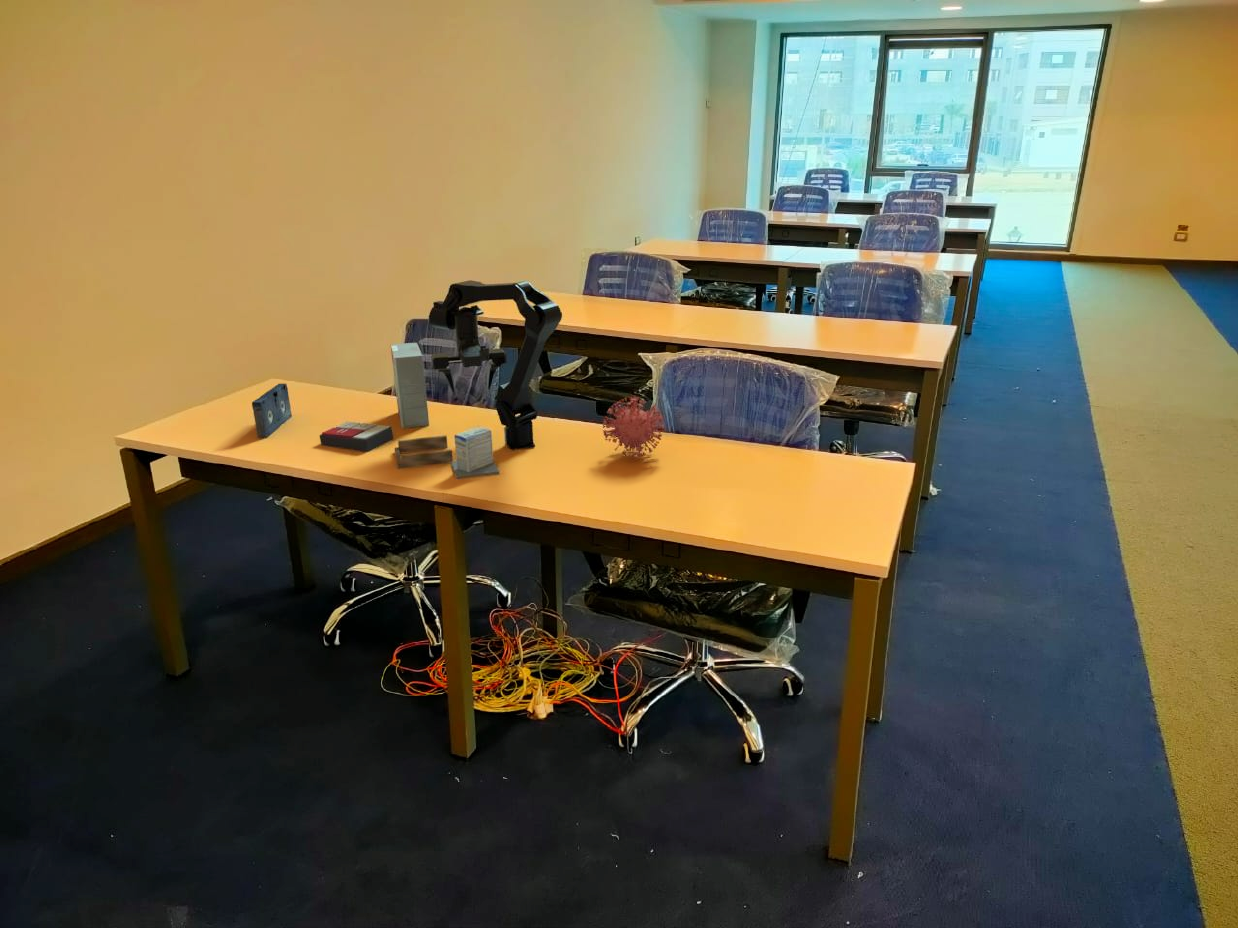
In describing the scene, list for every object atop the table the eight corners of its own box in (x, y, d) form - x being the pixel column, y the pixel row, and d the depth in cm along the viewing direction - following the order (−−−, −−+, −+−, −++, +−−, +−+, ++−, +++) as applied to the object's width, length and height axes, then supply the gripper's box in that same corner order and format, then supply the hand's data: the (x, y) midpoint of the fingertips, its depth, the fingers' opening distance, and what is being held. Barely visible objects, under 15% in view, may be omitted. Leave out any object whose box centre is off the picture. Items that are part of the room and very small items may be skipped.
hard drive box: (397, 412, 247) (390, 344, 240) (424, 409, 249) (418, 342, 242) (401, 428, 233) (393, 357, 226) (430, 425, 235) (423, 354, 228)
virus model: (591, 456, 212) (589, 398, 206) (633, 441, 222) (632, 386, 216) (634, 471, 202) (634, 411, 197) (676, 455, 212) (677, 397, 206)
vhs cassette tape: (283, 416, 244) (278, 383, 241) (294, 416, 244) (288, 383, 240) (255, 438, 227) (249, 402, 224) (266, 438, 227) (260, 402, 223)
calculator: (346, 420, 230) (392, 424, 224) (349, 435, 232) (394, 439, 226) (318, 432, 221) (364, 437, 215) (321, 448, 222) (367, 453, 216)
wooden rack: (447, 446, 220) (446, 435, 219) (452, 462, 209) (451, 450, 208) (395, 452, 216) (393, 440, 215) (398, 468, 205) (396, 456, 204)
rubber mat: (492, 459, 211) (492, 457, 210) (499, 473, 202) (499, 471, 202) (451, 464, 208) (451, 461, 208) (456, 478, 199) (456, 476, 199)
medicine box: (481, 459, 209) (478, 425, 206) (494, 463, 206) (491, 429, 203) (456, 469, 203) (453, 434, 200) (469, 473, 200) (466, 438, 197)
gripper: (432, 341, 208) (438, 403, 214) (508, 335, 213) (512, 396, 219) (428, 332, 218) (433, 391, 224) (501, 326, 223) (504, 384, 229)
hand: (471, 391), depth 224 cm, fingers open, 9 cm apart
